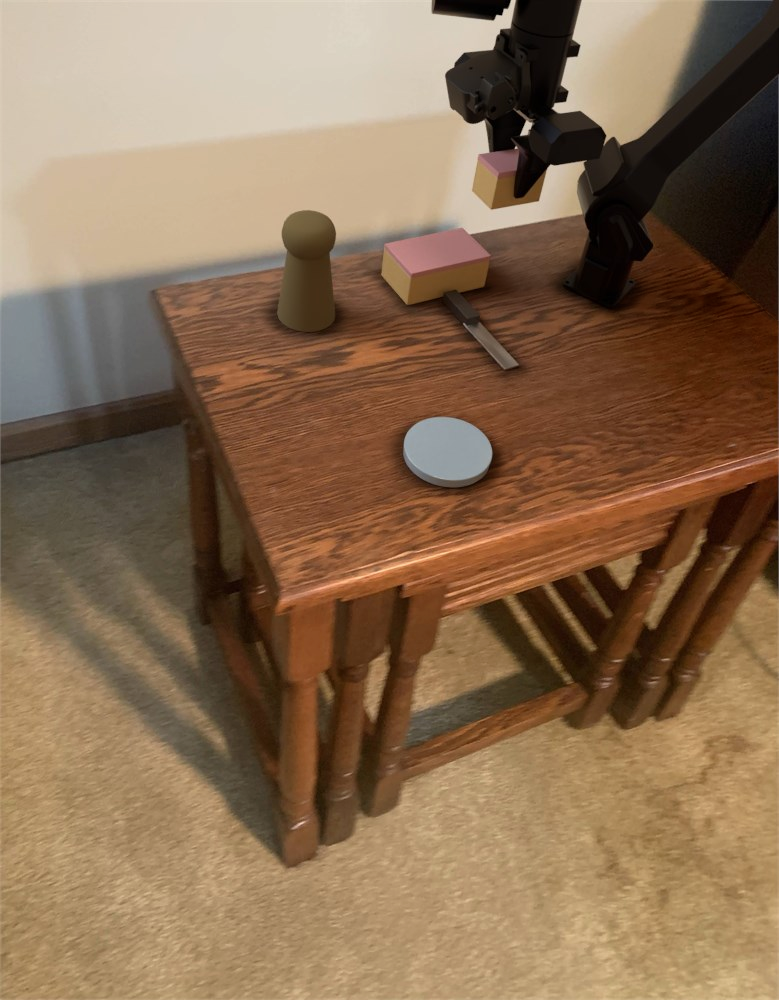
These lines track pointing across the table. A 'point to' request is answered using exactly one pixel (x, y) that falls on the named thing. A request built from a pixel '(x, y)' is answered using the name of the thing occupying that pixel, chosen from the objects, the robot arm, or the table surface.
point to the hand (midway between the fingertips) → (507, 187)
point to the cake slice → (501, 180)
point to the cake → (434, 265)
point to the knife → (477, 329)
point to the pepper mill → (307, 272)
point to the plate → (447, 452)
